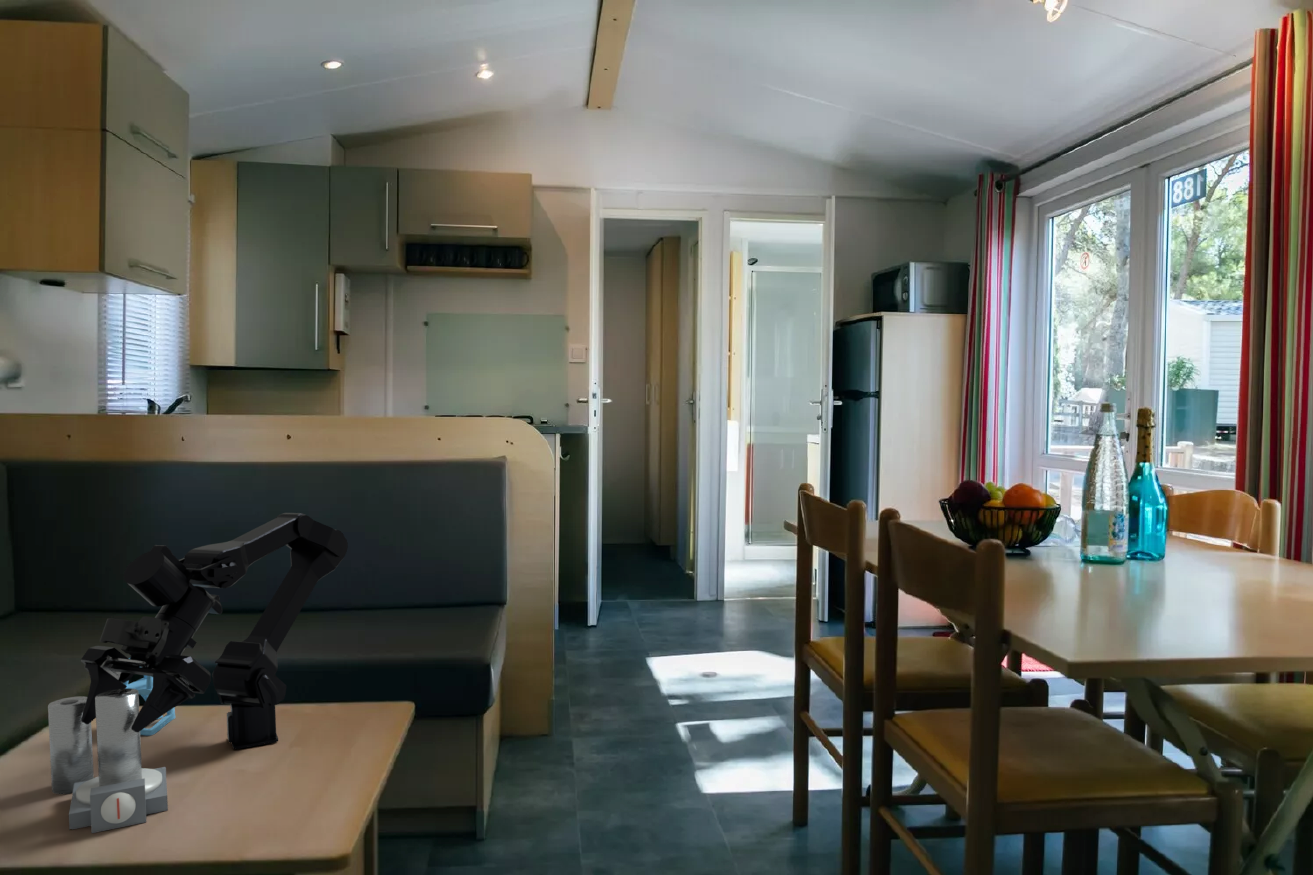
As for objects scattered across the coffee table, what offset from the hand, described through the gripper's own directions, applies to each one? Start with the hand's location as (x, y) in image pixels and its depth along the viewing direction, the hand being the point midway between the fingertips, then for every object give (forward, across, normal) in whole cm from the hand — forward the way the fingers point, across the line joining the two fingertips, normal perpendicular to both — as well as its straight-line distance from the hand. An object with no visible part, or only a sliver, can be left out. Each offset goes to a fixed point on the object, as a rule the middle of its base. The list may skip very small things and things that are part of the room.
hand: (108, 726), depth 124 cm
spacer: (+6, -12, +10) cm, 16 cm away
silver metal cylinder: (+5, 0, +7) cm, 8 cm away
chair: (-10, -23, +26) cm, 35 cm away
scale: (+7, +1, +8) cm, 11 cm away
